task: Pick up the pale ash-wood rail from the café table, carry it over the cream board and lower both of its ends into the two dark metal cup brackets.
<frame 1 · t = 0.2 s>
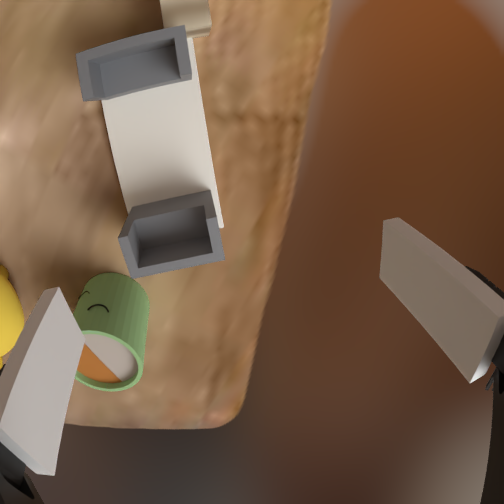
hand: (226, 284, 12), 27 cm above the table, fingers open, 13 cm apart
bracket board: (159, 143, 35), on the table
mug 2: (108, 304, 43), on the table
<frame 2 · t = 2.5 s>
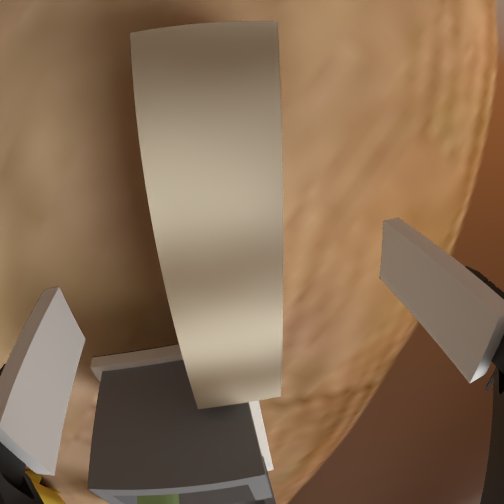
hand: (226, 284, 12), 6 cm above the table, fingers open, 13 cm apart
rail: (211, 210, 17), on the table
bracket board: (203, 429, 26), on the table
teapot: (32, 483, 31), on the table
mug 2: (151, 498, 35), on the table
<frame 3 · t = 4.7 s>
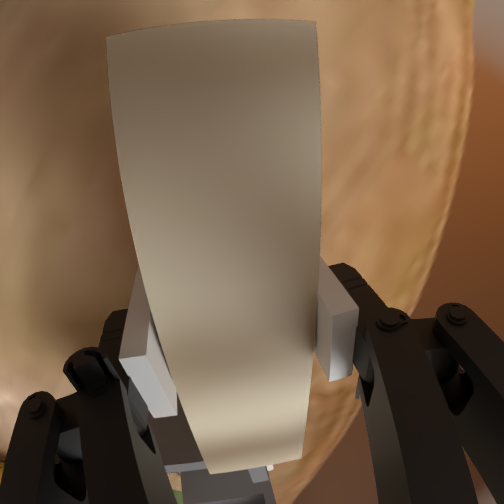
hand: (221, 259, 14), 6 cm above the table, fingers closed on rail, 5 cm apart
rail: (220, 256, 14), point 6 cm above the table, touching gripper
bracket board: (206, 426, 28), on the table
mug 2: (155, 500, 36), on the table
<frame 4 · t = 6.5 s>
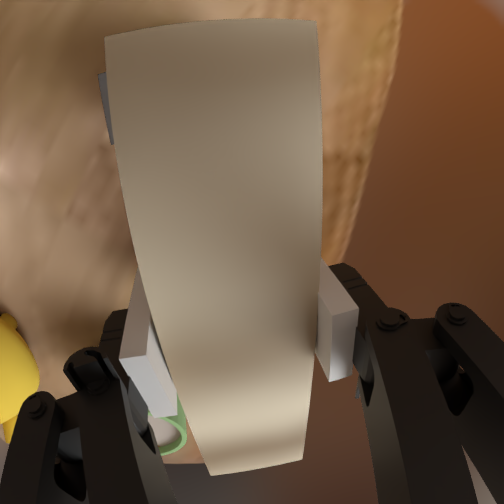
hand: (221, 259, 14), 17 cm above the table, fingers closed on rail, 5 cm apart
rail: (220, 257, 14), point 17 cm above the table, touching gripper
bracket board: (200, 184, 30), on the table
teapot: (5, 349, 34), on the table
mug 2: (134, 357, 38), on the table
when the fingers open (7 cm above the table, at t = 8.7 s): rail stays where it is, resting on bracket board.
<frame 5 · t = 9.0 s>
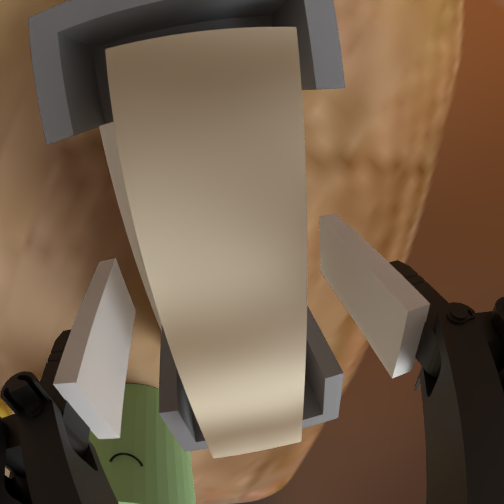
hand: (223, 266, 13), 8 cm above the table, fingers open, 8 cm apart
rail: (219, 247, 15), point 6 cm above the table, touching bracket board
bracket board: (209, 203, 20), on the table
mug 2: (128, 414, 29), on the table
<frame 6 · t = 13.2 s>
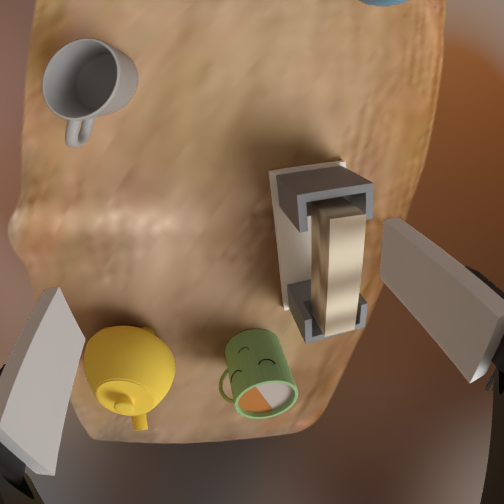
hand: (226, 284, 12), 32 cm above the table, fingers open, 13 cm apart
rail: (326, 258, 44), point 6 cm above the table, touching bracket board
bracket board: (311, 239, 49), on the table
mug: (102, 95, 34), on the table
teapot: (133, 355, 53), on the table
mug 2: (245, 351, 57), on the table
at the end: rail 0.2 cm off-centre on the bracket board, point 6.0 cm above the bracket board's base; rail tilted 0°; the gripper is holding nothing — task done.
